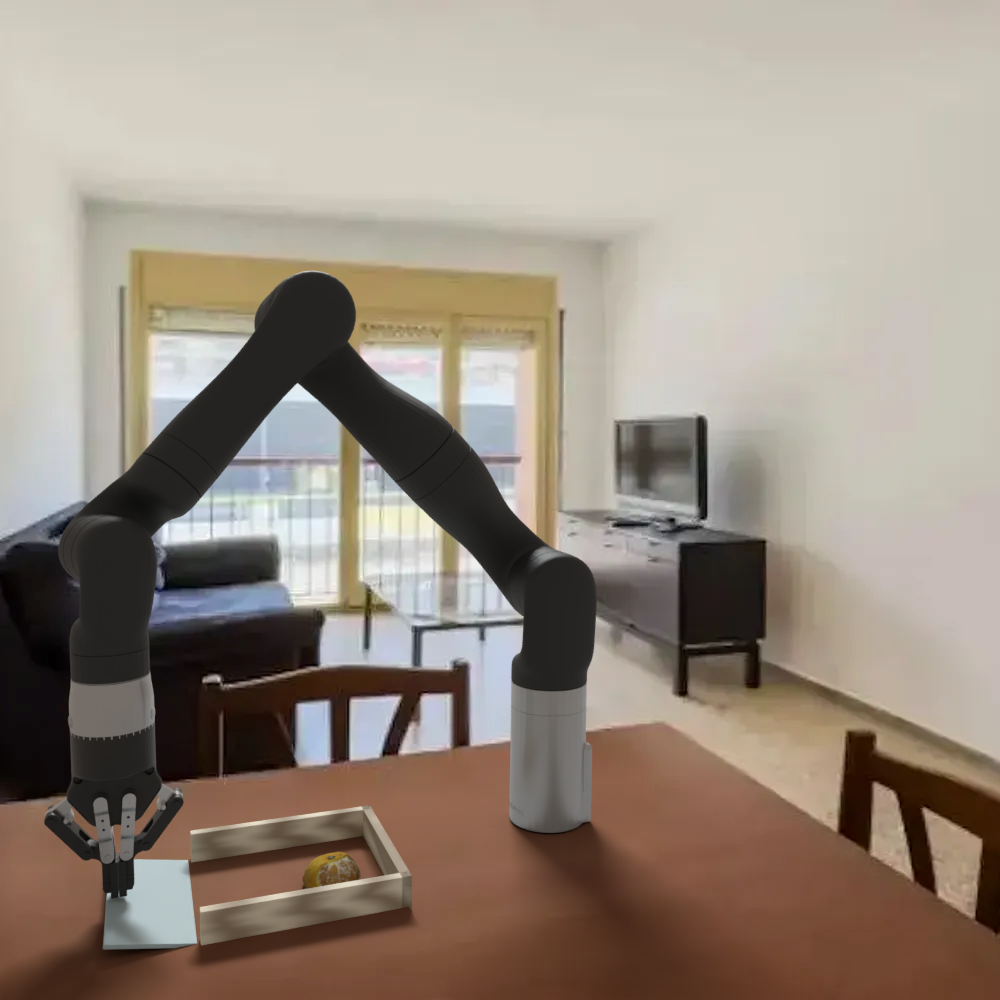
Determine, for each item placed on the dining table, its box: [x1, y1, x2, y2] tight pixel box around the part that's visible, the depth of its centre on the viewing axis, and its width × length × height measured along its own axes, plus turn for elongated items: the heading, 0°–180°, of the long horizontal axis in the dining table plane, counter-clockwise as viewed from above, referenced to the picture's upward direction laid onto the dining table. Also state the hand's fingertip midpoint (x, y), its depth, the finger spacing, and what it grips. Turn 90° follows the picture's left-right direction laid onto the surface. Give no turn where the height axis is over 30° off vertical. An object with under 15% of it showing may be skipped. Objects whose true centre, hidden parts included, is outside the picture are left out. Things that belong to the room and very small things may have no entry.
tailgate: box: [102, 858, 198, 950], centre depth 91 cm, size 1×17×8 cm
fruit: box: [302, 851, 361, 889], centre depth 94 cm, size 8×8×4 cm
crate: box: [189, 804, 413, 946], centre depth 96 cm, size 20×18×4 cm
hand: (118, 893), depth 89 cm, fingers closed
